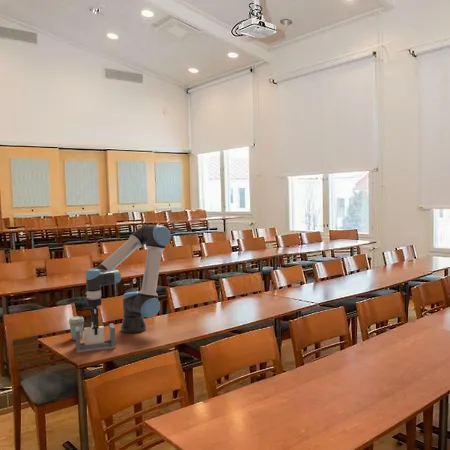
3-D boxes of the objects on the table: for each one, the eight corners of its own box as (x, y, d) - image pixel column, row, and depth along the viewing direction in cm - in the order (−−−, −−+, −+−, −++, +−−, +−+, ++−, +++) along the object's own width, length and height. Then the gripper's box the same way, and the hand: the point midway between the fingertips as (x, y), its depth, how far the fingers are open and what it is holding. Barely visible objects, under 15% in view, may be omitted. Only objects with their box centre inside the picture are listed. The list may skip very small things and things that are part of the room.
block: (103, 343, 263) (103, 325, 262) (104, 345, 260) (103, 327, 259) (84, 345, 260) (84, 327, 259) (85, 347, 257) (84, 329, 256)
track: (113, 342, 268) (113, 323, 267) (115, 348, 259) (114, 327, 258) (76, 346, 262) (75, 326, 261) (76, 352, 252) (75, 331, 252)
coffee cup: (80, 341, 272) (79, 320, 271) (66, 340, 274) (65, 319, 273) (87, 336, 281) (86, 316, 280) (74, 335, 282) (73, 315, 281)
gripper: (85, 294, 269) (87, 331, 270) (87, 303, 245) (89, 344, 247) (99, 293, 271) (100, 330, 273) (103, 302, 248) (104, 342, 249)
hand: (95, 337), depth 260 cm, fingers open, 13 cm apart
